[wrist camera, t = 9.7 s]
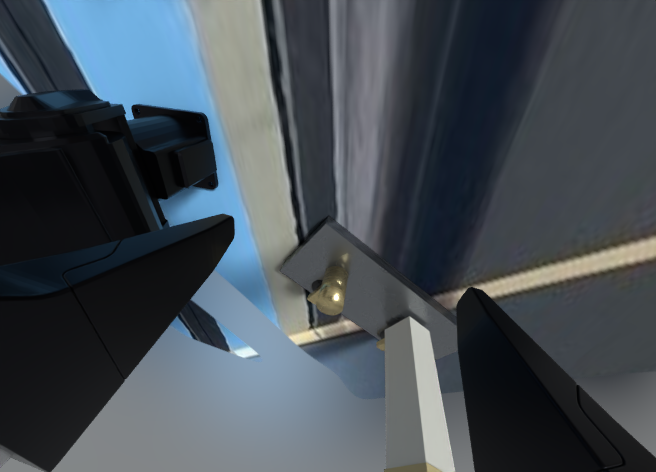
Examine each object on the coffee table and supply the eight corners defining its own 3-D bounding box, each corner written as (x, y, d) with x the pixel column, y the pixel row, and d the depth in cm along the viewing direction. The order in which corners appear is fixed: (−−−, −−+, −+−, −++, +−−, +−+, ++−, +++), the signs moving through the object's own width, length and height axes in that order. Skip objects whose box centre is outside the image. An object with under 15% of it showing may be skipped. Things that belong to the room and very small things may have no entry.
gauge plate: (284, 262, 28) (265, 299, 23) (328, 215, 23) (316, 249, 19) (416, 355, 32) (422, 402, 28) (473, 330, 28) (491, 380, 24)
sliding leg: (369, 335, 29) (362, 486, 18) (409, 313, 26) (428, 479, 15) (389, 349, 30) (394, 502, 19) (430, 329, 27) (462, 498, 16)
